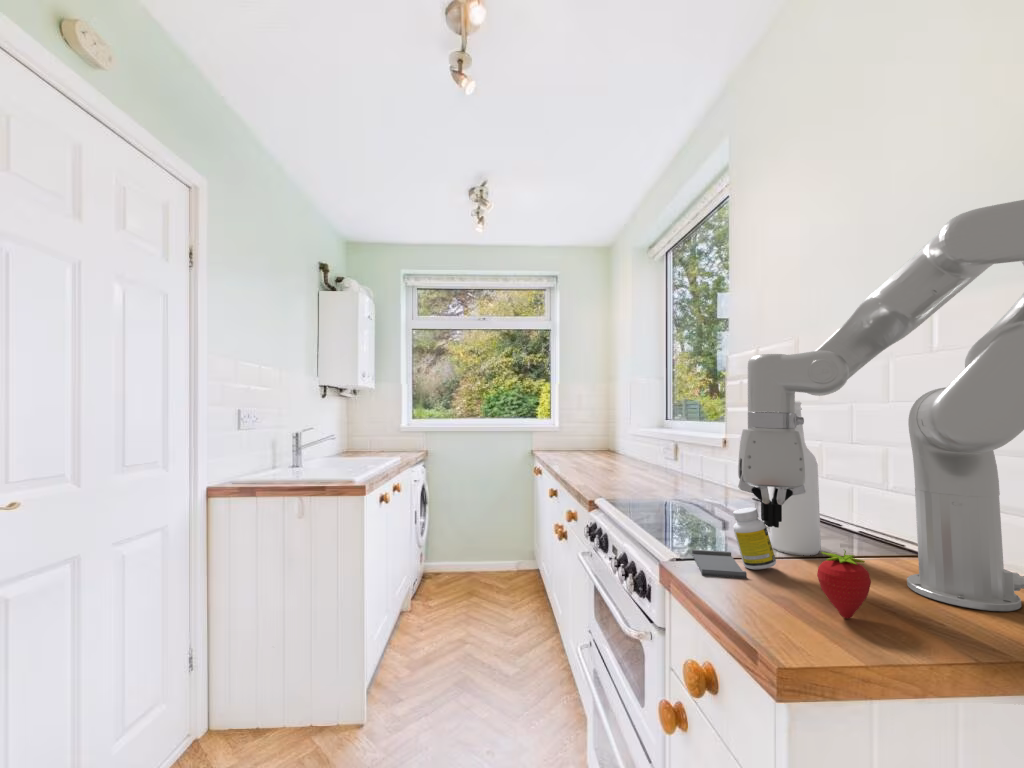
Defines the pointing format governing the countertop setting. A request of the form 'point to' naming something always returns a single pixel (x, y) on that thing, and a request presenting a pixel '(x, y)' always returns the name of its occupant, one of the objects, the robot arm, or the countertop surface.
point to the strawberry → (844, 582)
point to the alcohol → (800, 510)
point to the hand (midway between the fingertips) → (771, 525)
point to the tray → (717, 564)
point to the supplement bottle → (753, 539)
